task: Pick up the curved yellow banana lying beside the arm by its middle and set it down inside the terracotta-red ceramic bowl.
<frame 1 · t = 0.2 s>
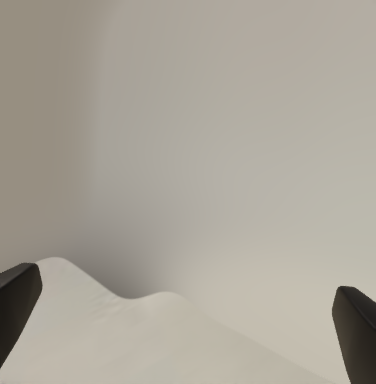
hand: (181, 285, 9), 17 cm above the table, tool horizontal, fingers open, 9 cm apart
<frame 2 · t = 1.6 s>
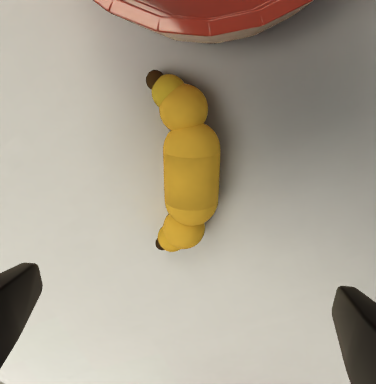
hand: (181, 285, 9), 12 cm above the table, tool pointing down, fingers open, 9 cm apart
banana: (204, 167, 20), on the table, tilted 25°
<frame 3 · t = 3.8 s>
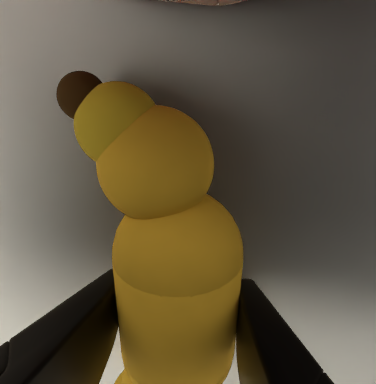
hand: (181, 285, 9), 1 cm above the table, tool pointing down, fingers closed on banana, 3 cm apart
banana: (198, 265, 10), on the table, tilted 16°, touching gripper
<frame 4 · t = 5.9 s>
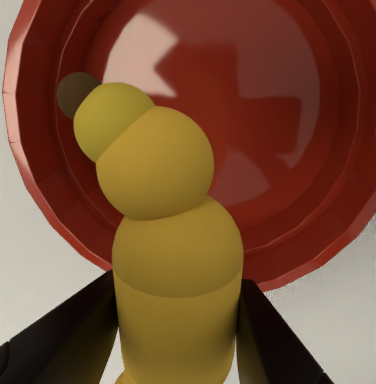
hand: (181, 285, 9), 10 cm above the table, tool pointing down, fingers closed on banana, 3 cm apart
banana: (198, 266, 10), point 9 cm above the table, tilted 16°, touching gripper
bowl: (203, 120, 17), on the table
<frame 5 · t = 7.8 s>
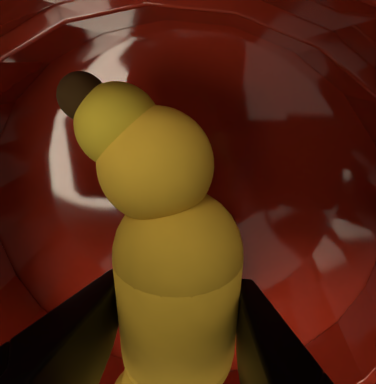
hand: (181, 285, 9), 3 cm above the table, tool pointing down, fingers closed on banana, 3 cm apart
banana: (199, 265, 10), point 2 cm above the table, tilted 16°, touching gripper
bowl: (179, 231, 12), on the table
when the fingers open (2 cm above the table, at t = 8.5 s): banana stays where it is, resting on bowl.
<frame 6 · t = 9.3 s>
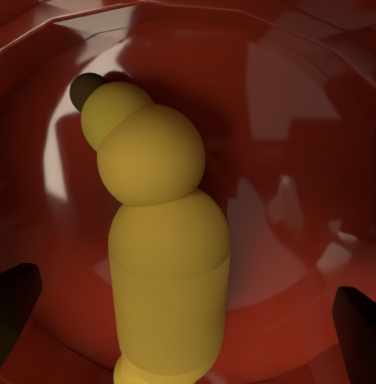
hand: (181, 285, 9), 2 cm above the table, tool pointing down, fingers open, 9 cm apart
banana: (201, 259, 11), point 1 cm above the table, tilted 29°, touching bowl
bowl: (179, 242, 11), on the table
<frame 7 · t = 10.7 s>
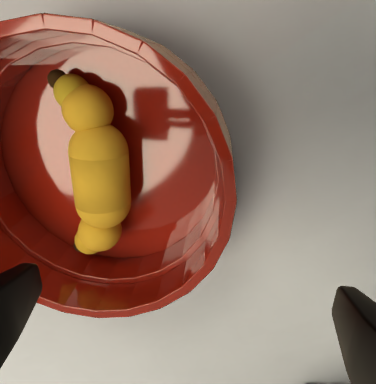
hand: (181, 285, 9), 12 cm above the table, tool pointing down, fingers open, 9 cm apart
banana: (120, 169, 20), point 1 cm above the table, tilted 24°, touching bowl
bowl: (110, 163, 21), on the table
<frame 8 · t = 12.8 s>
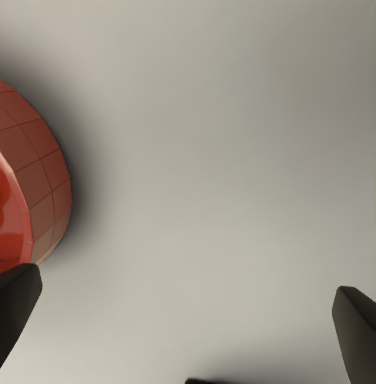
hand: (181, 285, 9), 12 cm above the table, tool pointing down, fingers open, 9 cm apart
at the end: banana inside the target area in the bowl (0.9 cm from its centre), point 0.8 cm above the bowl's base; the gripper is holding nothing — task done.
